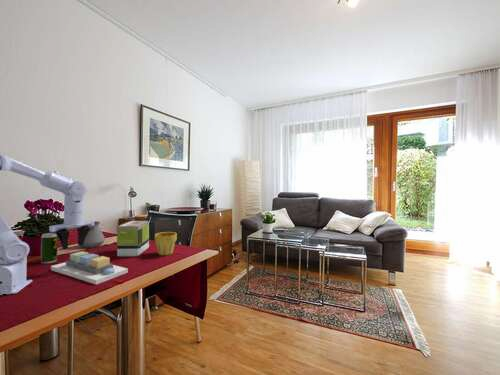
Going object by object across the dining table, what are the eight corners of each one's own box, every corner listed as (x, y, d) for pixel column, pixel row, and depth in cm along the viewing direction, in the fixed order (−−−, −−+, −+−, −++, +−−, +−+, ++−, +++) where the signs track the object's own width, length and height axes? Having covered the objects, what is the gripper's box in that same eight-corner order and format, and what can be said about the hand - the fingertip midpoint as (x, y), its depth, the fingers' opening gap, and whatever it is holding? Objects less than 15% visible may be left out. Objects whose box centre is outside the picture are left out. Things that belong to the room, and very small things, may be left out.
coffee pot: (80, 244, 124) (80, 217, 124) (104, 242, 130) (105, 216, 130) (77, 255, 106) (78, 223, 106) (106, 251, 113) (106, 221, 113)
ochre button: (109, 265, 86) (109, 257, 86) (97, 269, 82) (97, 261, 82) (102, 263, 88) (102, 256, 88) (90, 267, 84) (90, 259, 84)
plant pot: (158, 258, 105) (159, 237, 105) (151, 252, 113) (151, 233, 113) (179, 254, 112) (180, 234, 112) (171, 249, 120) (171, 231, 120)
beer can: (39, 264, 93) (39, 235, 93) (42, 260, 97) (42, 233, 97) (56, 262, 96) (56, 234, 96) (58, 258, 100) (58, 232, 100)
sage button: (88, 260, 91) (88, 252, 91) (76, 263, 87) (76, 255, 87) (82, 258, 93) (82, 251, 93) (69, 261, 89) (70, 254, 89)
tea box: (130, 247, 121) (130, 220, 121) (149, 247, 122) (150, 220, 122) (116, 256, 106) (116, 225, 106) (138, 256, 107) (138, 225, 107)
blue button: (98, 262, 89) (98, 255, 89) (86, 266, 85) (86, 258, 85) (91, 261, 90) (91, 253, 90) (79, 264, 86) (79, 256, 86)
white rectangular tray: (127, 272, 87) (127, 263, 87) (95, 284, 76) (96, 274, 76) (83, 260, 99) (84, 253, 99) (50, 269, 88) (50, 261, 88)
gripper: (57, 215, 79) (56, 253, 79) (99, 211, 92) (98, 244, 92) (46, 213, 82) (45, 250, 82) (88, 209, 95) (88, 241, 95)
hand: (72, 247), depth 87 cm, fingers open, 5 cm apart
